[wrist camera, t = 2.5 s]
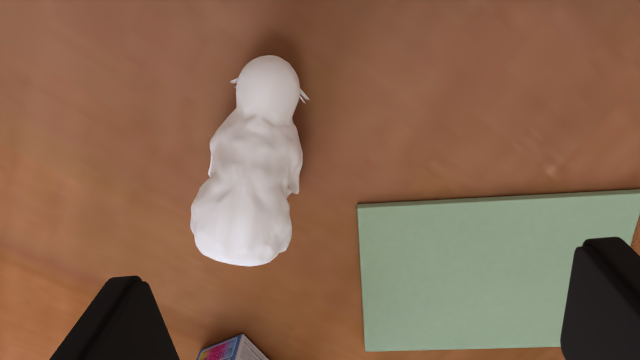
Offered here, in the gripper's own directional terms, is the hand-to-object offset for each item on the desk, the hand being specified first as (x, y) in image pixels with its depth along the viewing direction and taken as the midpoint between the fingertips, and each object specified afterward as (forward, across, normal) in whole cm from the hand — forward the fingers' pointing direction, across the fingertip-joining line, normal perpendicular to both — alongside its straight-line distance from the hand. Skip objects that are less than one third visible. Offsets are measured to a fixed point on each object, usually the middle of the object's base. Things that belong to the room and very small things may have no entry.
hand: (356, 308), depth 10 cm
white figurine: (+20, +6, +3) cm, 21 cm away
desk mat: (+20, -9, +17) cm, 28 cm away
